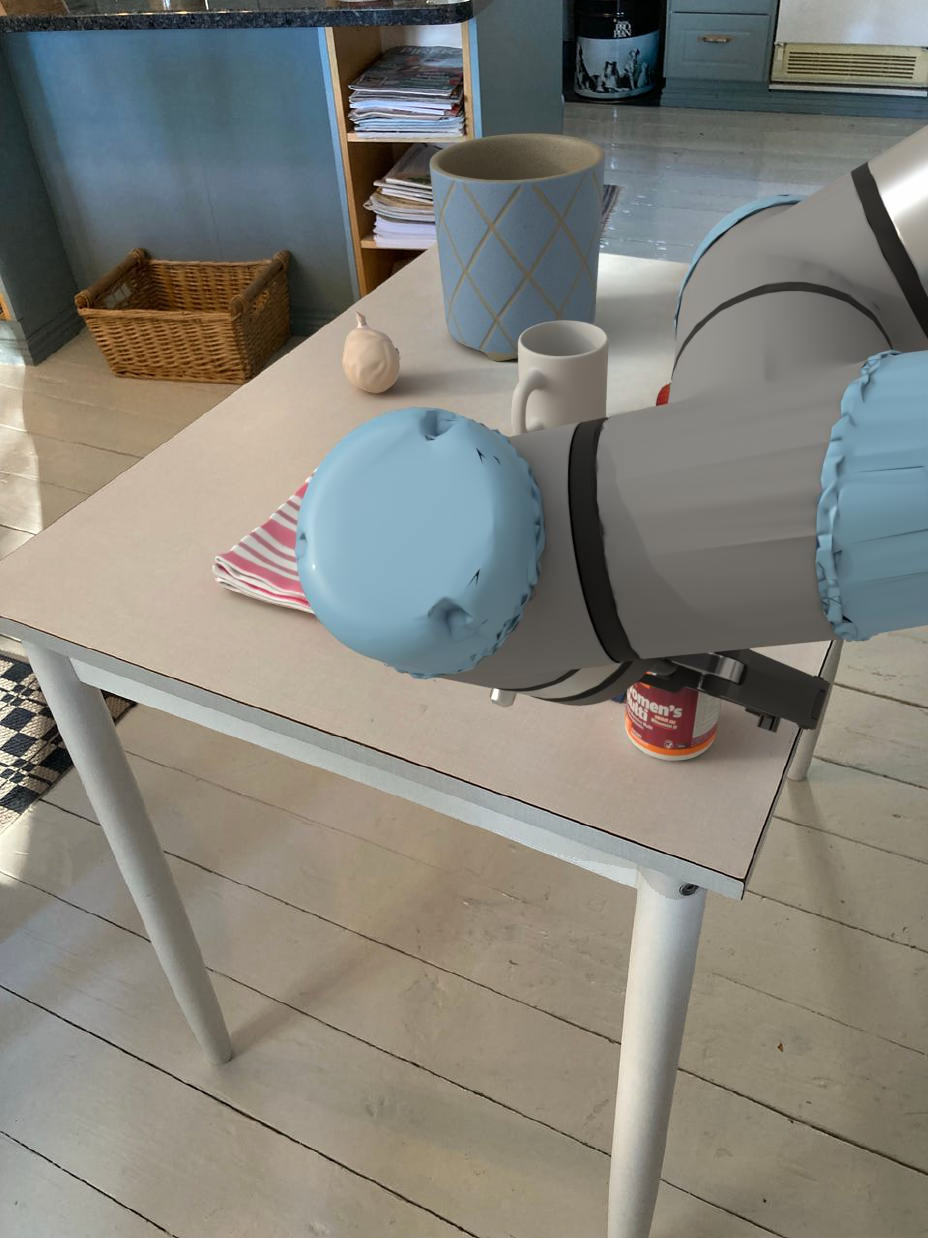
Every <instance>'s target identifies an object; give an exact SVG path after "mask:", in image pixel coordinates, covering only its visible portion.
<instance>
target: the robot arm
mask: <svg viewBox="0 0 928 1238" xmlns="http://www.w3.org/2000/svg"><path fill="white" fill-rule="evenodd" d="M697 248H698V249H697V250H696V252H695V254H694V256H693V258H692V261H691V263H690V265H689V267H688V270H687V272H686V273H685V275H684V278H683V282H682V284H681V287H680V290H679V294H678V298H677V303H676V310H675V315H674V320H673V323H674V328H675V330H674V342H675V349H674V359H673V360H674V361H673V367H672V373H671V377H670V381H671V382H670V383H671V385H670V392H669V399H668V404H664V405H659V406H656V405H655V406H651V407H646V408H641V409H636V410H632V411H628V412H623V413H618V414H614V415H610V416H609V417H607V416H606V417H604V418H600V419H595V420H590V421H585V422H577V423H572V424H568V425H563V426H558V427H554V428H549V429H544V430H539V431H535V432H530V433H525V434H520V435H516V436H514V435H512V436H508V435H504V434H501V432H500V430H499V429H498V428H496V429H495V428H494V429H490V428H489V427H488V426H487V425H485V424H484V423H483V422H478V421H476V420H474V419H471V418H469V417H466V416H463V415H461V414H459V413H455V412H453V411H450V410H446V409H443V408H439V407H425V406H422V407H421V406H420V407H415V406H412V407H406V408H404V407H403V408H398V409H394V410H391V411H387V412H384V413H382V414H379V415H377V416H374V417H373V418H371V419H369V420H367V421H365V422H363V423H362V424H360V425H358V426H357V427H356V428H354V429H353V430H351V431H350V432H348V433H347V434H346V435H345V436H344V437H342V439H340V440H339V441H338V442H337V443H336V444H335V445H334V447H333V448H331V450H330V451H329V452H328V453H327V455H326V456H325V457H324V458H323V460H322V461H321V462H320V464H319V465H318V466H317V467H318V468H317V467H316V468H317V470H316V472H315V473H314V475H313V477H312V479H311V481H310V483H309V485H308V487H307V489H306V492H305V495H304V497H303V500H302V503H301V506H300V510H299V515H298V521H297V531H296V545H295V556H296V562H297V570H298V575H299V579H300V583H301V586H302V589H303V592H304V594H305V597H306V599H307V601H308V603H309V605H310V607H311V608H312V610H313V612H314V614H313V615H315V617H316V619H317V620H318V621H319V622H320V624H321V625H322V626H323V628H325V630H327V632H329V633H330V634H331V635H332V636H333V637H334V638H335V639H336V640H338V642H340V643H341V644H342V645H344V646H345V647H346V648H348V649H350V650H351V651H353V652H355V653H357V654H359V655H362V656H364V657H366V658H369V659H372V660H374V661H378V662H381V663H383V664H385V666H386V667H389V668H393V669H394V670H395V671H396V672H397V673H399V674H403V675H404V674H408V675H409V676H411V677H412V678H413V679H417V680H429V679H430V680H431V679H434V678H435V679H443V680H448V681H452V682H458V683H463V684H468V685H474V686H479V687H484V688H489V689H491V690H490V694H489V698H490V701H491V704H494V705H497V706H499V707H502V708H509V707H511V706H513V705H514V703H515V701H516V697H517V694H520V695H524V696H529V697H531V698H534V699H538V700H541V701H544V702H545V701H546V702H549V703H555V704H559V705H565V706H572V707H573V706H574V707H583V706H584V707H585V706H593V705H597V704H602V703H604V702H608V701H609V700H610V699H612V698H614V697H616V696H618V695H620V694H622V693H623V692H625V691H626V690H628V689H629V688H630V687H631V686H633V685H634V684H635V683H637V682H640V683H643V684H646V685H649V686H652V687H655V688H658V689H661V690H664V691H667V692H671V693H678V692H679V691H681V690H682V689H683V688H684V687H687V688H690V689H692V690H695V691H698V692H701V693H704V694H707V695H710V696H713V697H716V698H719V699H721V701H725V702H728V703H731V704H733V705H737V706H739V707H743V708H744V712H746V713H749V714H751V715H752V716H755V717H757V718H758V721H757V724H756V728H760V729H762V730H765V731H769V732H772V733H775V734H777V733H778V729H779V726H780V723H781V720H785V721H787V722H791V723H793V724H795V725H796V726H797V728H799V729H802V730H805V731H808V730H811V731H814V730H817V727H818V723H819V720H820V718H821V715H822V712H823V709H824V705H825V703H826V699H827V696H828V693H829V690H830V686H831V683H830V682H829V681H828V680H825V678H824V677H821V676H819V675H812V674H809V673H808V672H805V671H802V670H800V669H797V668H796V667H793V666H790V665H788V664H785V663H783V662H781V661H779V660H777V659H774V658H772V657H770V656H767V655H765V654H762V653H760V652H757V651H755V650H753V649H758V648H768V647H778V646H788V645H798V644H799V645H800V644H807V643H808V644H809V643H819V642H830V641H839V640H842V641H844V640H845V642H846V643H852V642H865V641H866V642H867V641H870V639H871V638H873V637H875V636H878V635H880V634H885V633H890V632H895V631H902V630H907V629H908V630H909V629H914V628H919V627H925V626H928V124H927V125H925V126H923V127H922V128H921V129H918V130H917V131H915V132H913V133H912V134H911V135H909V136H907V137H906V138H903V140H900V142H898V143H896V144H894V145H893V146H891V147H890V148H888V149H887V150H885V151H883V152H882V153H880V154H877V156H875V157H874V158H872V159H870V160H869V161H866V162H864V163H862V164H861V165H859V166H858V167H856V168H854V169H853V170H851V171H849V172H847V173H846V174H844V175H842V176H840V177H838V178H836V179H835V180H833V181H831V182H829V183H828V184H826V185H825V186H823V187H821V188H820V189H819V190H816V191H815V192H814V193H812V194H810V195H807V194H791V193H790V194H775V195H771V196H767V197H760V198H758V199H755V200H752V201H749V202H748V203H745V204H743V205H741V206H739V207H737V208H736V209H734V210H733V211H731V212H730V213H728V214H727V215H725V216H724V217H723V218H722V219H721V220H720V221H718V222H717V223H716V224H715V225H714V226H713V227H712V229H710V231H708V233H707V235H706V236H705V237H704V239H703V240H702V242H701V243H700V245H699V247H697ZM647 672H652V673H656V675H654V676H653V675H650V674H647Z"/></svg>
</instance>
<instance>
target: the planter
mask: <svg viewBox="0 0 928 1238" xmlns="http://www.w3.org/2000/svg"><path fill="white" fill-rule="evenodd" d="M605 167H606V152H605V150H604V148H603V147H602V146H600V145H599V144H596V143H595V142H593V141H591V140H587V139H584V138H580V137H577V136H571V135H565V134H564V135H563V134H554V133H508V134H499V135H490V136H483V137H479V138H473V139H468V140H465V141H461V142H457V143H454V144H451V145H449V146H446V147H444V148H442V149H441V150H439V151H438V152H436V153H434V154H433V155H432V157H431V158H430V161H429V173H430V183H431V193H432V204H433V213H434V214H433V215H434V224H435V233H436V234H435V235H436V241H437V250H438V251H437V252H438V260H439V269H440V276H441V288H442V297H443V298H442V299H443V306H444V316H445V317H444V318H445V325H446V329H447V331H448V334H449V335H450V336H451V337H452V338H453V339H454V340H455V341H457V343H460V344H462V345H463V346H466V347H469V348H471V349H474V350H477V351H480V352H482V353H484V354H485V355H486V356H487V357H488V358H489V359H491V360H492V361H494V362H503V361H509V360H513V359H514V360H515V359H518V340H519V337H520V335H521V334H522V333H523V332H524V331H525V330H527V329H528V328H530V327H532V326H535V325H538V324H541V323H545V322H551V321H579V322H585V323H589V324H592V325H595V318H596V307H597V291H598V279H599V264H600V263H599V261H600V247H601V236H602V235H601V232H602V218H603V205H604V185H605V184H604V183H605Z"/></svg>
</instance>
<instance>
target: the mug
mask: <svg viewBox="0 0 928 1238" xmlns="http://www.w3.org/2000/svg"><path fill="white" fill-rule="evenodd" d="M517 367H518V368H517V369H518V370H517V371H518V383H517V384H516V386H515V388H514V391H513V394H512V398H511V407H510V408H511V410H510V418H511V419H510V420H511V428H512V429H511V430H512V432H513V433H512V434H513V436H516V435H520V434H525V433H530V432H535V431H539V430H544V429H549V428H554V427H558V426H563V425H568V424H572V423H577V422H585V421H590V420H595V419H600V418H604V417H607V400H608V399H607V395H608V373H609V372H608V371H609V337H608V334H607V333H606V332H605V330H603V328H601V327H599V326H597V325H595V324H593V325H592V324H589V323H585V322H579V321H551V322H545V323H541V324H538V325H535V326H532V327H530V328H528V329H527V330H525V331H524V332H523V333H522V334H521V335H520V337H519V340H518V358H517Z"/></svg>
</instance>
